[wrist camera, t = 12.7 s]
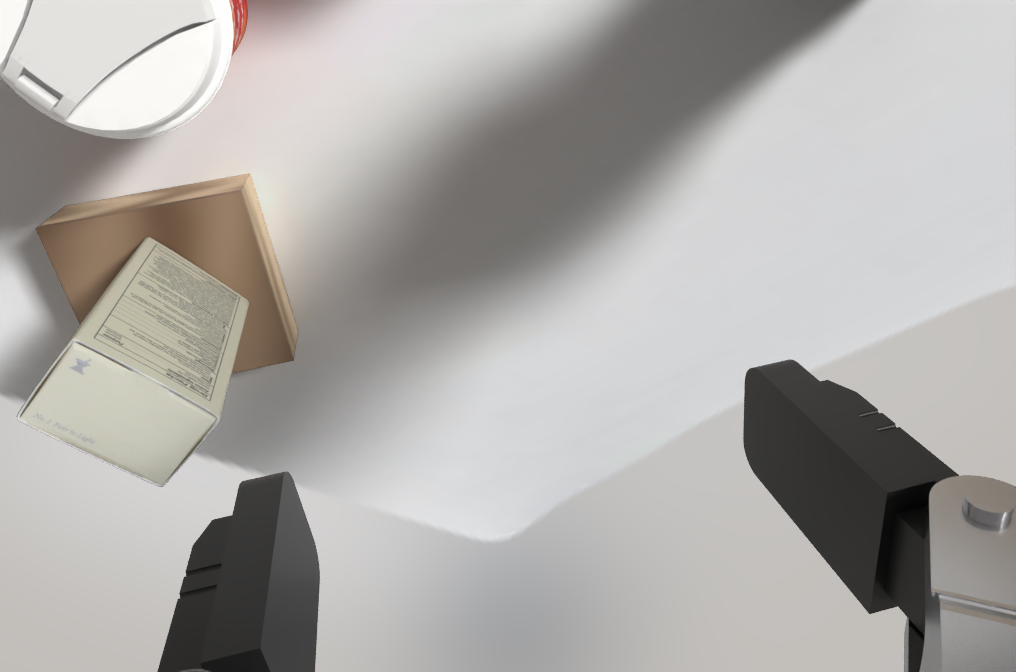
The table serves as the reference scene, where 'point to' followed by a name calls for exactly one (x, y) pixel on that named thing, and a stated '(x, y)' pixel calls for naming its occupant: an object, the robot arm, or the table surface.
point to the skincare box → (144, 367)
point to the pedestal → (181, 253)
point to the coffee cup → (119, 60)
